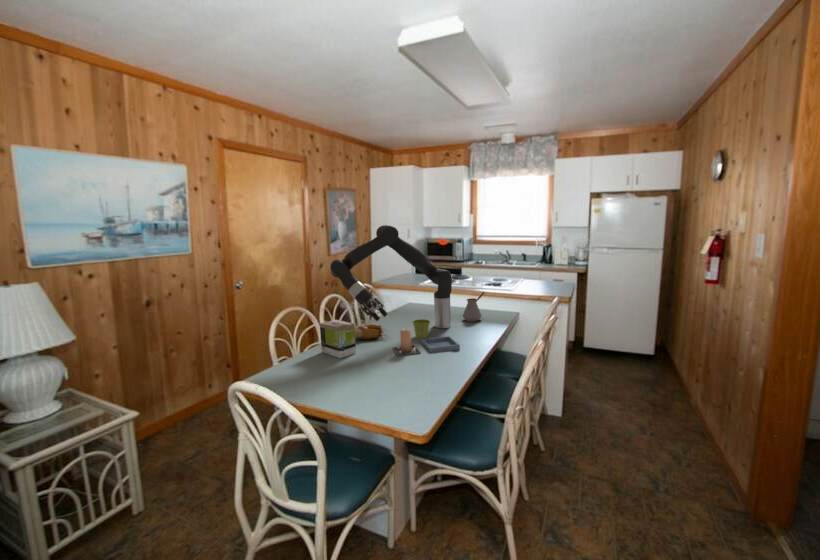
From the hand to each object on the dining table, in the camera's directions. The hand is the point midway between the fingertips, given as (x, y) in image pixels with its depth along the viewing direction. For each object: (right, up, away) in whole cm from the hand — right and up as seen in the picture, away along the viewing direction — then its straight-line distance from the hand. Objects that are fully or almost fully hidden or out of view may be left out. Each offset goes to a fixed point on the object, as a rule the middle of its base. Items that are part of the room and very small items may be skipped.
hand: (382, 317), depth 189 cm
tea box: (-21, -17, +1) cm, 27 cm away
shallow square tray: (+28, -15, +4) cm, 32 cm away
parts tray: (+11, -16, -2) cm, 20 cm away
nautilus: (-7, -14, +21) cm, 26 cm away
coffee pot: (+54, -6, +55) cm, 77 cm away
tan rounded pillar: (+11, -16, -2) cm, 19 cm away
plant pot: (+19, -13, +20) cm, 31 cm away
